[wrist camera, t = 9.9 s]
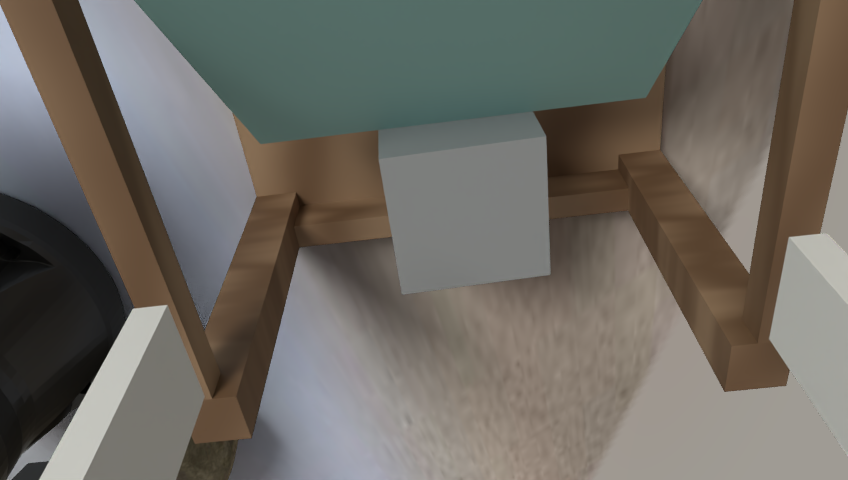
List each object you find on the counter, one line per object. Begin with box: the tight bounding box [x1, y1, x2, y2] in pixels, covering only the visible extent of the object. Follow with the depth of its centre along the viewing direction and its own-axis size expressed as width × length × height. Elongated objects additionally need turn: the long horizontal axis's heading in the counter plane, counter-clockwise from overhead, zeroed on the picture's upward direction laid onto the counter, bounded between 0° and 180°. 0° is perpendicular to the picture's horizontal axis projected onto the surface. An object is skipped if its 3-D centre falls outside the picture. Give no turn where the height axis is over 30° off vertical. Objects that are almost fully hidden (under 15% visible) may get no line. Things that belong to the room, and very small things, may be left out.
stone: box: [176, 436, 238, 480], centre depth 42 cm, size 9×14×10 cm, turn 155°
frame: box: [0, 0, 848, 444], centre depth 24 cm, size 20×20×15 cm
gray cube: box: [378, 111, 551, 295], centre depth 28 cm, size 6×6×6 cm
